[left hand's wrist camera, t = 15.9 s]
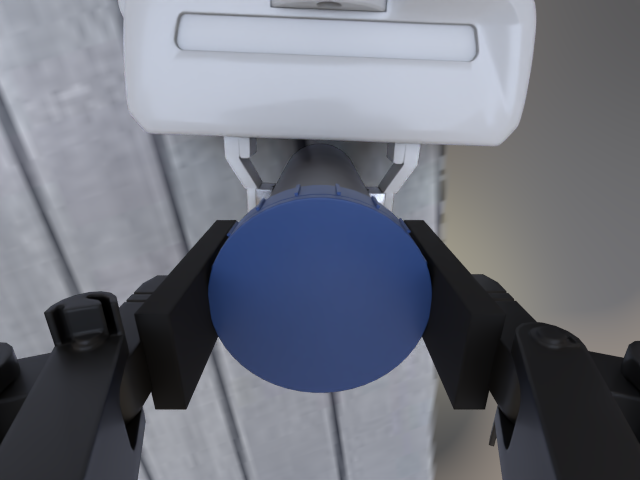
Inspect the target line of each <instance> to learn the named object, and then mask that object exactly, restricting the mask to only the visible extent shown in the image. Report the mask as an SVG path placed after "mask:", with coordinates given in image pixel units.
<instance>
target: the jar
mask: <svg viewBox="0 0 640 480" xmlns="http://www.w3.org/2000/svg"><path fill="white" fill-rule="evenodd" d="M298 184H300V186H301V187H302V186H310V185H331V186H335V184H339V186H340V187H344V188H347V189H351V190H355V191H357V192H360V193H362V194H365V195H367V196H369V197H370V195H369V193H368V191H367V189H366V187H365V186H364V184H363V182H362V180H361V178H360V176H359V175H358V173H357V171H356V169H355V167H354V165H353V163H352V162H351V160H350V159H349V157H348V156H347V155H346V154H345V153H344V152H343V151H341V150H340V149H338V148H336V147H334V146H331V145H327V144H313V145H309V146H306V147H304V148H302V149H300V150H299V151H298V152H296V153H295V154H294V155H293V156H292V157H291V159H290V160H289V162H288V164H287V165H286V167H285V169H284V171H283V173H282V175H281V177H280V178H279V180H278V182H277V184H276V186H275V188H274V190H273V191H272V193H271V195H270V197H271V196H273V195H275V194H278V193H280V192H283V191H285V190H289V189H293V188H296V185H298Z"/></svg>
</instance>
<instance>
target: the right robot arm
mask: <svg viewBox="0 0 640 480" xmlns="http://www.w3.org/2000/svg"><path fill="white" fill-rule="evenodd" d="M118 4H119V8H120V11H121V13H122V15H123V18H124V25H123V55H124V77H125V90H126V100H127V106H128V110H129V113H130V115H131V116H132V117H133V118H134V119H135V121H136V122H137V123H138V124H139V125H140V127H141V128H142V129H143V130H144V131H145V132H147V133H150V134H172V135H199V136H224V149H225V159H226V160H227V162H228V163H229V165H230V167H231V168H232V170H233V171H234V173H235V174H236V176H237V177H238V179H239V181H240V182H241V184H242V185H243V187H244V188H246V189H247V207H248V212H249V211H250V210H252V209H253V208H254V207H256V206H257V205H258V204H259V202H260V201H261V199H262V198H265V199H268V198H269V197H270V195H271V193H272V191H273V190H274V188H275V186H276V183H262V180H261V178H260V176H259V175H258V173H257V171H256V169H255V168H254V166H253V164H252V162H251V161H250V159H249V157H251V156H252V155H253V154H254V153H256V138H279V139H306V140H333V141H360V142H386V143H388V147H387V158H388V159H390V160H391V161H392V162H393V165H392V166H391V168H390V169H389V171H388V172H387V174H386V175H385V177H384V178H383V180H382V181H381V183H380V184H379V186H378V187H366V189H367V191H368V193H369V195H370V197H372V195H373V196H375V198H376V199H377V201H378V202H379V203H381V204H382V205H383V206H385V207H386V208H387V209H388V210H390V211H391V212H392V208H393V199H394V194H397V192H398V191H399V190H400V188H401V187H402V186H403V184H404V183H405V182H406V180H407V179H408V178H409V176H410V175H411V174H412V172H413V171H414V170H415V168H416V167H417V166H418V160H419V152H420V145H421V144H440V145H467V146H499V145H500V144H501V143H502V142H504V141H505V140H506V139H507V138H508V137H509V136H510V135H511V134H512V132H513V131H514V130H515V129H516V128H517V126H518V125H519V122H520V119H521V116H522V113H523V108H524V104H525V100H526V95H527V90H528V84H529V79H530V73H531V66H532V59H533V52H534V44H535V34H536V7H535V2H534V0H118Z"/></svg>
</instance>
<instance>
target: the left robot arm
mask: <svg viewBox="0 0 640 480" xmlns="http://www.w3.org/2000/svg"><path fill="white" fill-rule="evenodd" d="M235 223H236V220H217V221H216V222H215V223H214V224H213V225H212V226H211V227H210V229H209V230H208V231H207V232H206V233H205V234H204V235H203V236H202V238H201V239H200V240H199V241H198V242H197V243H196V244H195V246H194V247H193V248H192V249H191V250H190V251H189V252H188V253H187V255H186V256H185V257H184V258H183V259H182V260H181V261H180V263H179V264H178V265H177V266H176V267H175V268H174V269H173V270H172V272H171V273H170V274H169V275H168V276H156V277H154V278H152V279H150V280H148V281H147V282H145V283H143V284H142V285H141V286H140V287H139V288H138V289H137V290H136V291H135V292H134V294H132V295H131V296H130V297H129V298H128V299H127V302H124V303H123V304H122V305H121V306H120V307H119V306H118V302H117V298H116V296H115V295H113V294H112V293H108V292H102V291H100V292H88V293H83V294H78V295H75V296H72V297H69V298H66V299H64V300H61V301H59V302H58V303H56V304H54V305H52V306H51V307H50V308H49V309H48V310H46V311H45V312H44V314H45V317H46V320H47V323H48V326H49V329H50V332H51V335H52V338H53V341H54V345H55V347H54V349H53V351H52V352H51V353H48V354H43V355H38V356H32V357H27V358H22V359H17V358H16V355H15V353H14V350H13V348H12V346H10V345H9V344H7V343H1V342H0V480H138V473H139V465H140V458H141V451H142V444H143V436H144V429H145V422H146V421H145V415H144V410H143V405H144V403H145V401H146V400H147V398H148V396H149V394H150V393H151V392H152V397H153V401H154V406H155V409H187V407H188V404H189V402H190V400H191V397H192V395H193V393H194V391H195V388H196V386H197V384H198V381H199V379H200V377H201V375H202V372H203V370H204V368H205V365H206V363H207V361H208V359H209V356H210V354H211V352H212V349H213V347H214V345H215V342H216V340H217V338H218V335H217V332H216V330H215V328H214V326H213V323H212V319H211V313H210V305H209V297H208V284H209V279H210V273H211V270H212V265H213V263H214V261H215V259H216V257H217V255H218V253H219V252H220V250H221V248H222V246H223V245H224V244H225V242H226V241H227V239H228V238H229V237H228V236H227V234H228V233H229V231H230V230H231V228H232V227H233V226H234V224H235ZM404 223H405V224H406V226H407V227H408V228H409V230H410V231H411V232H410V233H409V235H410V236H411V237H412V239H413V240H414V242H415V243H416V245H417V246H418V248H419V249H420V251H421V253H422V255H423V256H424V258H425V259H426V261H427V263H428V264H427V267H428V270H429V273H430V278H431V284H432V300H431V307H430V315H429V320H428V323H427V326H426V328H425V330H424V333H423V335H422V337H423V340H424V342H425V344H426V347H427V349H428V351H429V353H430V356H431V358H432V360H433V363H434V365H435V367H436V369H437V372H438V374H439V376H440V379H441V381H442V383H443V385H444V388H445V390H446V392H447V395H448V397H449V399H450V401H451V404H452V406H453V408H454V409H485V407H486V402H487V398H488V393H489V391H490V392H491V394H492V396H493V397H494V399H495V401H496V402H497V404H498V406H497V410H496V414H495V419H494V423H493V427H492V431H491V435H490V441H489V445H491V446H494V444H495V440H496V438H497V443H498V450H499V457H500V464H501V472H502V479H503V480H640V341H634V342H633V343H631V344H629V346H628V349H627V351H626V354H625V356H624V358H622V357H616V356H611V355H606V354H601V353H595V352H590V351H588V350H587V348H586V346H585V345H584V344H583V343H582V342H581V340H580V339H579V338H577V337H576V336H574V335H573V334H571V333H570V332H568V331H566V330H564V329H561V328H559V327H557V326H553V325H549V324H546V323H540V322H536V321H535V320H534V319H533V318H532V317H531V316H530V315H529V314H528V313H527V312H526V311H525V310H524V309H523V308H522V307H521V306H520V305H519V304H518V302H517V301H514V298H513V297H512V296H511V295H510V294H509V293H506V290H505V289H504V288H503V287H502V286H501V285H500V284H499V283H498V282H496V281H494V280H492V279H490V278H489V277H487V276H485V275H483V274H470V272H469V271H468V270H467V269H466V268H465V267H464V266H463V265H462V263H461V262H460V261H459V260H458V259H457V258H456V257H455V255H454V254H453V253H452V252H451V251H450V250H449V249H448V248H447V246H446V245H445V244H444V243H443V242H442V241H441V240H440V238H439V237H438V236H437V235H436V234H435V233H434V232H433V231H432V229H431V228H430V227H429V226H428V225H427V224H426V223H425V222H424V220H404Z"/></svg>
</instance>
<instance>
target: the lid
mask: <svg viewBox="0 0 640 480" xmlns="http://www.w3.org/2000/svg"><path fill="white" fill-rule="evenodd" d="M410 232H411V231H410V230H409V228H408V227H407V226H406V224H405V223H404V221H403V220H402V219H401V218H400V219H398V218H397V217H396V216H395V215H394V214H393V213H392V212H391V211H390V210H388V209H387V208H386V207H385V206H383V205H382V204H381V203H379V202H378V201H377V199H376V198H375V196H373V195H372V197H369V196H367V195H365V194H362V193H360V192H357V191H355V190H351V189H347V188H344V187H340V186H339V184H335V186H331V185H310V186H302V187H301V186H300V184H298V185H296V188H293V189H289V190H285V191H283V192H280V193H278V194H275V195H273V196H271V197H269V198H268V199H265V198H262V199H261V201H260V202H259V204H258V205H257V206H256V207H254V208H253V209H252V210H250V211H249V212H248V213H247V214H246V215H245V216H244V217H243V219H242V220H241V221H240V222H237V221H236V223H235V224H234V226H233V227H232V228H231V230H230V231H229V233H228V234H227V236H228V237H229V238H228V239H227V241H226V242H225V244H224V245H223V246H222V248H221V250H220V252H219V253H218V255H217V257H216V259H215V261H214V263H213V265H212V270H211V273H210V279H209V284H208V297H209V305H210V313H211V319H212V323H213V326H214V328H215V330H216V332H217V335H218V337H219V338H220V340H221V341H222V343H223V345H224V346H225V348H226V349H227V350H228V351H229V353H230V354H231V355H232V356H233V357H234V358H235V359H236V360H237V361H238V362H239V363H240V364H241V365H242V366H244V367H245V368H246V369H248V370H249V371H250V372H252V373H253V374H255V375H257V376H258V377H260V378H262V379H263V380H266V381H268V382H270V383H273V384H275V385H278V386H281V387H284V388H287V389H292V390H296V391H302V392H312V393H328V392H338V391H344V390H349V389H353V388H356V387H359V386H363V385H365V384H368V383H370V382H372V381H375V380H377V379H378V378H380V377H382V376H384V375H385V374H387V373H389V372H390V371H391V370H393V369H394V368H395V367H397V366H398V365H399V364H400V363H401V362H402V361H403V360H404V359H405V358H406V357H407V356H408V355H409V354H410V353H411V352H412V350H413V349H414V348H415V347H416V345H417V343H418V342H419V340H420V339H421V337H422V335H423V333H424V330H425V328H426V326H427V323H428V320H429V315H430V307H431V300H432V284H431V278H430V273H429V270H428V267H427V264H428V263H427V261H426V259H425V258H424V256H423V255H422V253H421V251H420V249H419V248H418V246H417V245H416V243H415V242H414V240H413V239H412V237H411V236H410V235H409V233H410Z"/></svg>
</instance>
